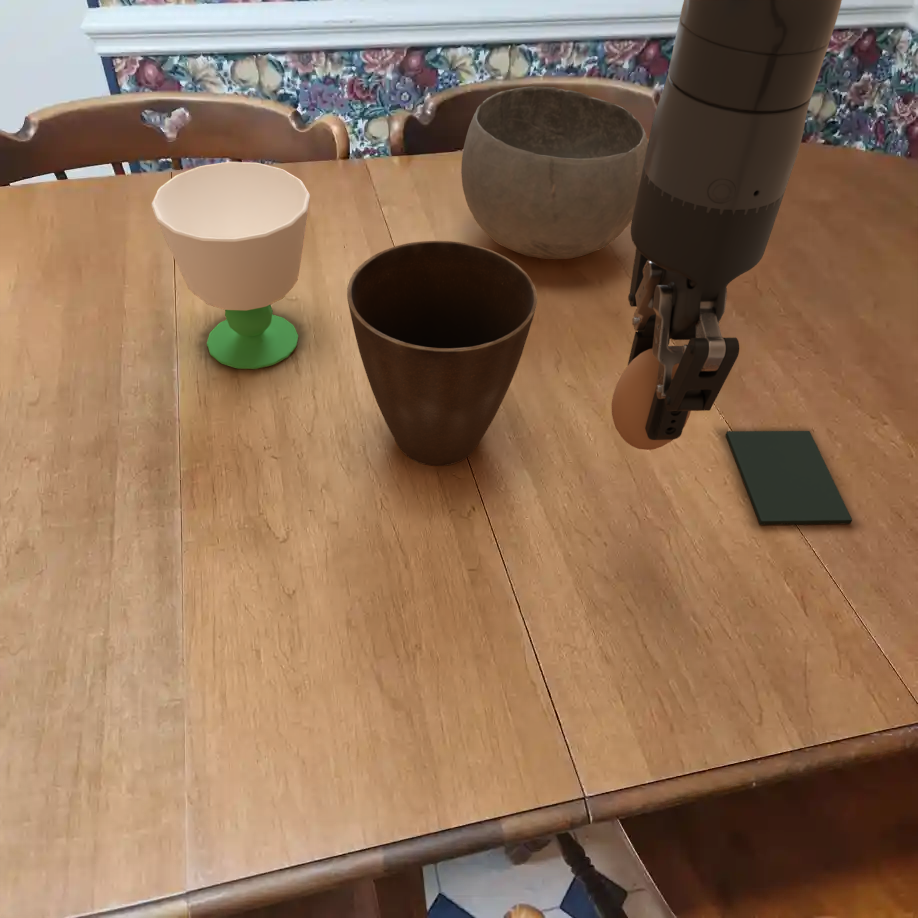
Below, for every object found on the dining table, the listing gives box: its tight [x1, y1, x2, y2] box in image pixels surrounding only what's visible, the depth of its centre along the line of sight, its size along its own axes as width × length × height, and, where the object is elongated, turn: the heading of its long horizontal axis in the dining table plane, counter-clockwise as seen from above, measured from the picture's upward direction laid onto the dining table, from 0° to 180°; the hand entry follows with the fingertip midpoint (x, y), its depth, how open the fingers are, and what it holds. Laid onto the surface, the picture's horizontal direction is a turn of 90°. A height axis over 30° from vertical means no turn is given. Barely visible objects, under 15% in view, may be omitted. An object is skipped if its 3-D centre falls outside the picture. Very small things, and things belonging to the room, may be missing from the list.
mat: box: [725, 430, 853, 526], centre depth 79 cm, size 11×8×1 cm
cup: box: [150, 161, 311, 370], centre depth 84 cm, size 14×14×16 cm
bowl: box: [460, 85, 649, 260], centre depth 99 cm, size 20×20×15 cm
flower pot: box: [346, 240, 538, 467], centre depth 75 cm, size 15×15×16 cm
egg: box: [611, 349, 692, 451], centre depth 59 cm, size 5×5×8 cm
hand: (651, 404), depth 59 cm, fingers closed on egg, 5 cm apart
